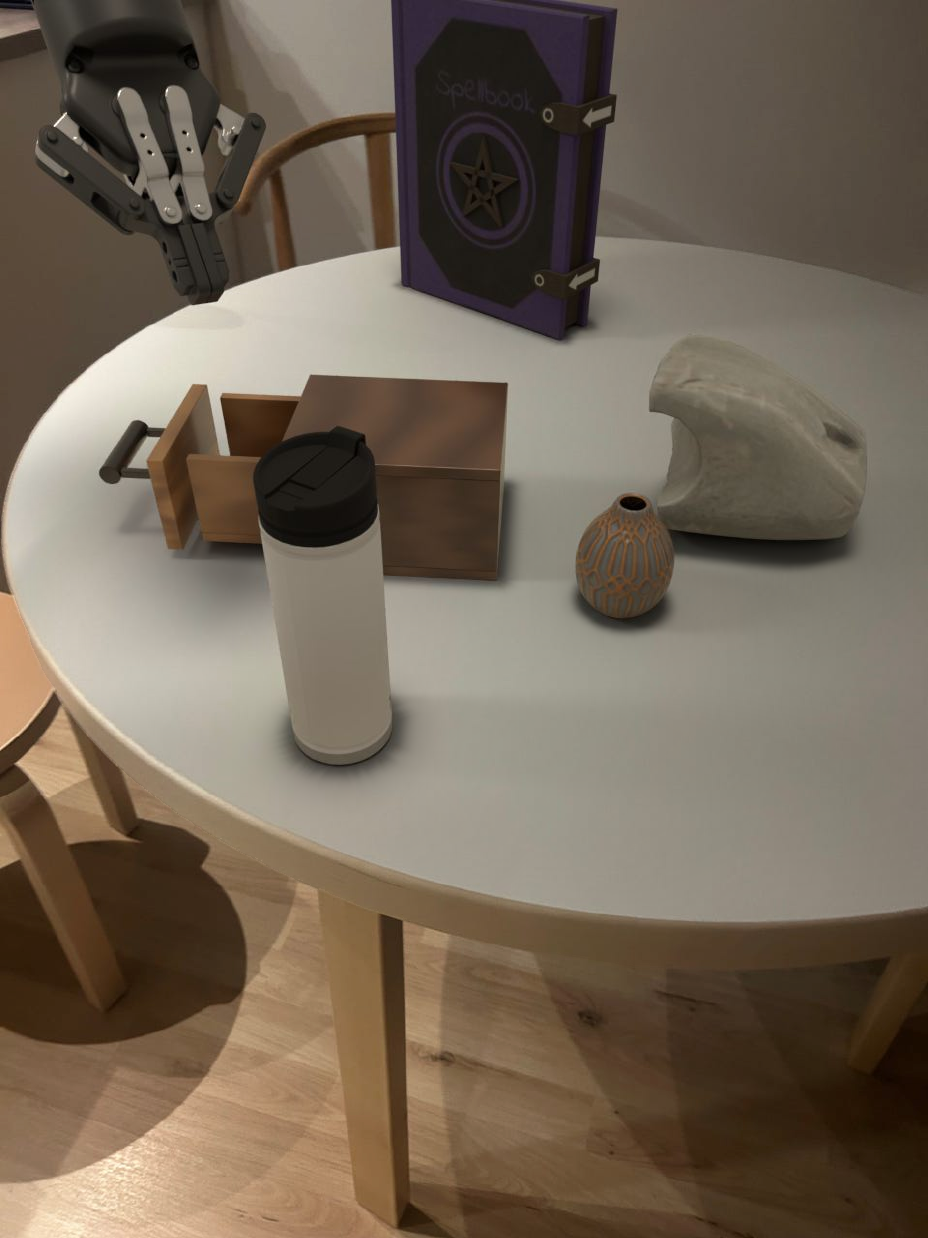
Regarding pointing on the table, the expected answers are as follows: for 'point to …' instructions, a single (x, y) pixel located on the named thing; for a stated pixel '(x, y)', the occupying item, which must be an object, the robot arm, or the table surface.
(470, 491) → the cabinet
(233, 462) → the drawer
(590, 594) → the vase
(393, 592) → the table surface
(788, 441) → the decorative stone
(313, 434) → the travel mug
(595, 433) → the table surface
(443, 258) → the book
